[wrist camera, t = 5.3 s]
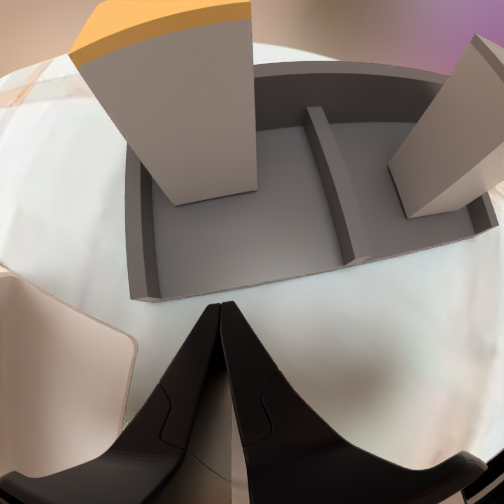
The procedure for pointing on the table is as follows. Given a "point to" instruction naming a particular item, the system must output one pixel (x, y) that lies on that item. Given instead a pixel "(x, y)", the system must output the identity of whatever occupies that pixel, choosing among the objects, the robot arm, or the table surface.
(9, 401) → the tablet stand
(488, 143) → the key plain
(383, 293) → the table surface
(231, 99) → the key marked
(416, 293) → the table surface
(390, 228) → the dark grey divided tray
